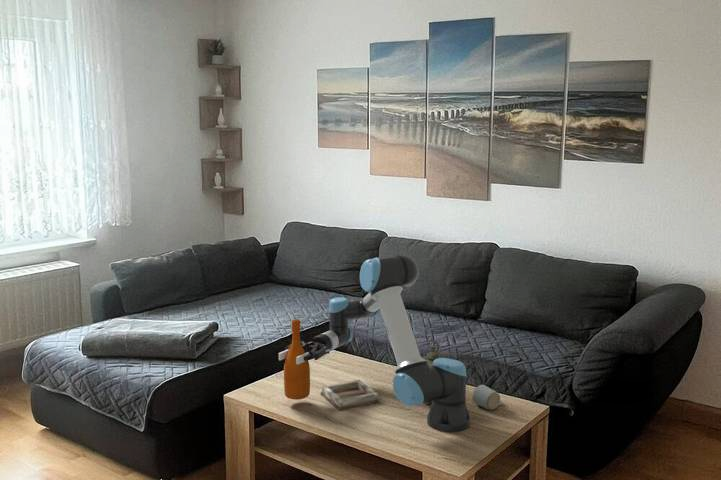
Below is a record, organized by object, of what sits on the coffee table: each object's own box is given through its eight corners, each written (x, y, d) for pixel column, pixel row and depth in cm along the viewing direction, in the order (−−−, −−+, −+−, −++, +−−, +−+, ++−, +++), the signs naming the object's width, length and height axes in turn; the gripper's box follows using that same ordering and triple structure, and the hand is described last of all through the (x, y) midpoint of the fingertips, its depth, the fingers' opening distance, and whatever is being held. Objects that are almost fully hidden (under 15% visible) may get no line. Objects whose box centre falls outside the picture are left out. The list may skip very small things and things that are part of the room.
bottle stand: (379, 402, 290) (379, 393, 290) (338, 410, 283) (338, 401, 282) (359, 387, 305) (359, 379, 305) (320, 394, 298) (320, 386, 297)
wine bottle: (312, 391, 293) (311, 316, 287) (307, 401, 283) (306, 323, 278) (287, 390, 294) (285, 315, 288) (281, 400, 284) (280, 322, 279)
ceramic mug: (487, 413, 281) (488, 393, 279) (471, 405, 287) (472, 386, 286) (507, 406, 287) (508, 387, 286) (491, 399, 293) (492, 380, 292)
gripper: (346, 356, 295) (310, 373, 277) (304, 347, 307) (267, 363, 288) (346, 337, 294) (310, 354, 275) (304, 329, 305) (266, 344, 287)
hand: (288, 358), depth 282 cm, fingers closed on wine bottle, 8 cm apart
